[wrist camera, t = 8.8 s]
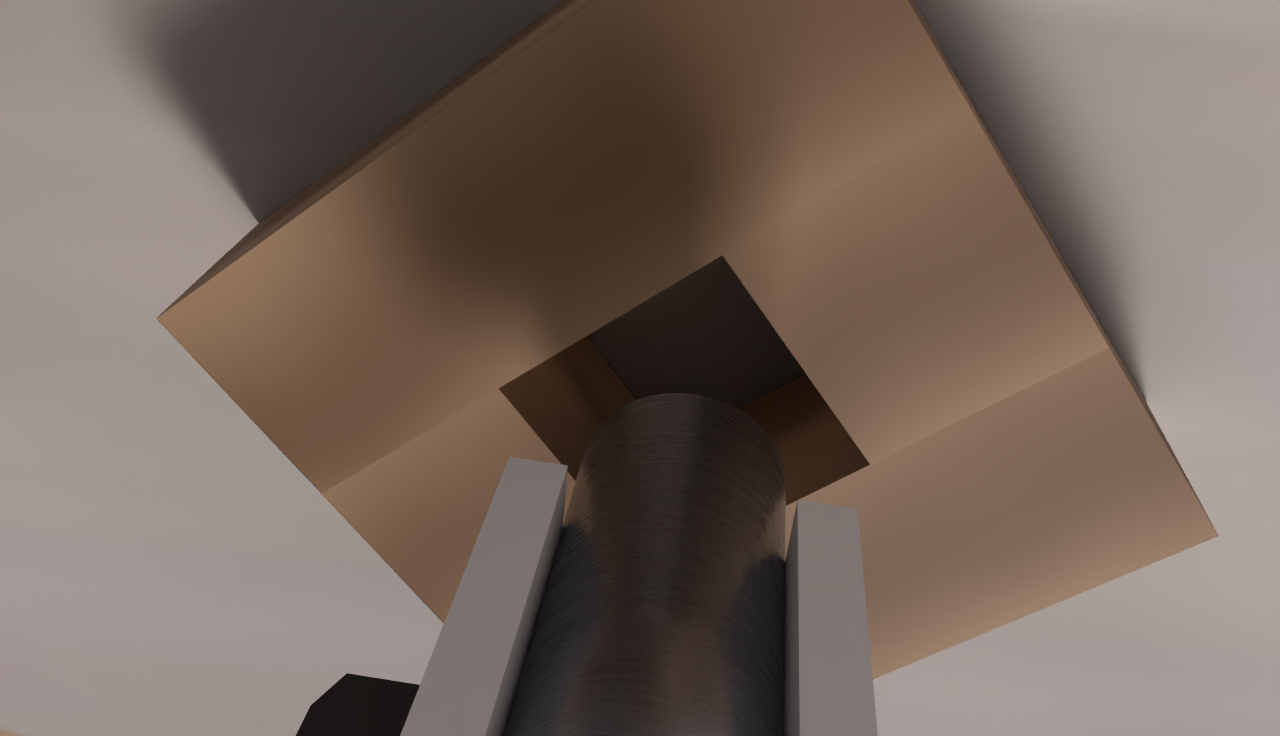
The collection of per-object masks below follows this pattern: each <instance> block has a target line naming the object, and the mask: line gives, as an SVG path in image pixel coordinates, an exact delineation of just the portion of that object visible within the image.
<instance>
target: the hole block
mask: <svg viewBox="0 0 1280 736" xmlns="http://www.w3.org/2000/svg"><path fill="white" fill-rule="evenodd" d="M722 255H723V257H724V258H725V260H726V261H727V262H728V264H729V265H730V267H731V268H732V270H733V271H734V272H735V274H736V275H737V277H738V278H739V279H740V281H741V282H742V284H743V285H744V287H745V288H746V289H747V291H748V292H749V294H750V295H751V296H752V298H753V299H754V301H755V302H756V304H757V305H758V306H759V308H760V309H761V311H762V312H763V313H764V315H765V316H766V318H767V319H768V321H769V322H770V323H771V325H772V326H773V328H774V329H775V330H776V332H777V333H778V335H779V336H780V338H781V339H782V340H783V342H784V343H785V345H786V346H787V347H788V349H789V350H790V352H791V353H792V355H793V356H794V357H795V359H796V360H797V362H798V363H799V364H800V366H801V367H802V369H803V370H804V372H805V374H804V375H802V376H800V377H798V378H796V379H794V380H792V381H790V382H789V383H787V384H785V385H783V386H781V387H779V388H777V389H775V390H774V391H772V392H770V393H768V394H766V395H764V396H762V397H761V398H759V399H757V400H755V401H753V402H751V403H749V404H747V405H746V406H744V407H742V408H740V409H739V410H741V411H742V412H744V413H745V414H747V415H748V416H750V417H751V418H752V419H753V420H755V421H756V422H757V423H758V424H759V425H760V426H761V427H762V428H763V429H764V430H765V432H766V433H767V434H768V435H769V436H770V438H771V439H772V441H773V443H774V444H775V446H776V447H777V450H778V452H779V454H780V456H781V459H782V462H783V466H784V470H785V479H786V523H785V559H786V554H787V549H788V544H789V539H790V534H791V529H792V525H793V520H794V515H795V510H796V505H797V500H804V501H811V502H818V503H824V504H831V505H838V506H844V507H851V508H858V518H859V529H860V541H861V552H862V563H863V575H864V586H865V598H866V609H867V620H868V632H869V643H870V655H871V666H872V678H873V679H875V678H877V677H879V676H882V675H884V674H887V673H889V672H892V671H894V670H896V669H899V668H901V667H904V666H906V665H908V664H911V663H913V662H916V661H918V660H920V659H923V658H925V657H928V656H930V655H933V654H935V653H937V652H940V651H942V650H945V649H947V648H949V647H952V646H954V645H957V644H959V643H962V642H964V641H966V640H969V639H971V638H974V637H976V636H978V635H981V634H983V633H986V632H988V631H990V630H993V629H995V628H998V627H1000V626H1003V625H1005V624H1007V623H1010V622H1012V621H1015V620H1017V619H1019V618H1022V617H1024V616H1027V615H1029V614H1032V613H1034V612H1036V611H1039V610H1041V609H1044V608H1046V607H1048V606H1051V605H1053V604H1056V603H1058V602H1060V601H1063V600H1065V599H1068V598H1070V597H1073V596H1075V595H1077V594H1080V593H1082V592H1085V591H1087V590H1089V589H1092V588H1094V587H1097V586H1099V585H1101V584H1104V583H1106V582H1109V581H1111V580H1114V579H1116V578H1118V577H1121V576H1123V575H1126V574H1128V573H1130V572H1133V571H1135V570H1138V569H1140V568H1143V567H1145V566H1147V565H1150V564H1152V563H1155V562H1157V561H1159V560H1162V559H1164V558H1167V557H1169V556H1171V555H1174V554H1176V553H1179V552H1181V551H1184V550H1186V549H1188V548H1191V547H1193V546H1196V545H1198V544H1200V543H1203V542H1205V541H1208V540H1210V539H1212V538H1215V537H1217V536H1218V534H1217V532H1216V530H1215V528H1214V526H1213V525H1212V523H1211V521H1210V519H1209V517H1208V515H1207V514H1206V512H1205V510H1204V508H1203V506H1202V504H1201V502H1200V501H1199V499H1198V497H1197V495H1196V493H1195V491H1194V490H1193V488H1192V486H1191V484H1190V482H1189V480H1188V478H1187V477H1186V475H1185V473H1184V471H1183V469H1182V467H1181V466H1180V464H1179V462H1178V460H1177V458H1176V456H1175V454H1174V453H1173V451H1172V449H1171V447H1170V445H1169V443H1168V442H1167V440H1166V438H1165V436H1164V434H1163V432H1162V431H1161V429H1160V427H1159V425H1158V423H1157V421H1156V419H1155V418H1154V416H1153V414H1152V412H1151V410H1150V408H1149V407H1148V405H1147V403H1146V401H1145V400H1144V398H1143V396H1142V394H1141V393H1140V391H1139V389H1138V387H1137V386H1136V384H1135V382H1134V381H1133V379H1132V377H1131V375H1130V374H1129V372H1128V370H1127V368H1126V367H1125V365H1124V363H1123V361H1122V360H1121V358H1120V356H1119V355H1118V353H1117V351H1116V349H1115V348H1114V346H1113V344H1112V342H1111V341H1110V339H1109V337H1108V336H1107V334H1106V332H1105V330H1104V329H1103V327H1102V325H1101V323H1100V322H1099V320H1098V318H1097V317H1096V315H1095V313H1094V311H1093V310H1092V308H1091V306H1090V304H1089V303H1088V301H1087V299H1086V298H1085V296H1084V294H1083V292H1082V291H1081V289H1080V287H1079V285H1078V284H1077V282H1076V280H1075V279H1074V277H1073V275H1072V273H1071V272H1070V270H1069V268H1068V266H1067V265H1066V263H1065V261H1064V260H1063V258H1062V256H1061V254H1060V253H1059V251H1058V249H1057V247H1056V246H1055V244H1054V242H1053V240H1052V239H1051V237H1050V235H1049V234H1048V232H1047V230H1046V228H1045V227H1044V225H1043V223H1042V221H1041V220H1040V218H1039V216H1038V215H1037V213H1036V211H1035V209H1034V208H1033V206H1032V204H1031V202H1030V201H1029V199H1028V197H1027V196H1026V194H1025V192H1024V190H1023V189H1022V187H1021V185H1020V183H1019V182H1018V180H1017V178H1016V177H1015V175H1014V173H1013V171H1012V170H1011V168H1010V166H1009V164H1008V163H1007V161H1006V159H1005V158H1004V156H1003V154H1002V152H1001V151H1000V149H999V147H998V145H997V144H996V142H995V140H994V138H993V137H992V135H991V133H990V132H989V130H988V128H987V126H986V125H985V123H984V121H983V119H982V118H981V116H980V114H979V113H978V111H977V109H976V107H975V106H974V104H973V102H972V100H971V99H970V97H969V95H968V94H967V92H966V90H965V88H964V87H963V85H962V83H961V81H960V80H959V78H958V76H957V75H956V73H955V71H954V69H953V68H952V66H951V64H950V62H949V61H948V59H947V57H946V56H945V54H944V52H943V50H942V49H941V47H940V45H939V43H938V42H937V40H936V38H935V36H934V35H933V33H932V31H931V30H930V28H929V26H928V24H927V23H926V21H925V19H924V17H923V16H922V14H921V12H920V11H919V9H918V7H917V5H916V4H915V2H914V0H563V1H562V2H560V3H559V4H558V5H556V6H555V7H554V8H552V9H551V10H550V11H548V12H547V13H545V14H544V15H543V16H541V17H540V18H539V19H537V20H536V21H535V22H533V23H532V24H530V25H529V26H528V27H526V28H525V29H524V30H522V31H521V32H519V33H518V34H517V35H515V36H514V37H513V38H511V39H510V40H509V41H507V42H506V43H504V44H503V45H502V46H500V47H499V48H498V49H496V50H495V51H494V52H492V53H491V54H489V55H488V56H487V57H485V58H484V59H483V60H481V61H480V62H479V63H477V64H476V65H474V66H473V67H472V68H470V69H469V70H468V71H466V72H465V73H464V74H462V75H461V76H459V77H458V78H457V79H455V80H454V81H453V82H451V83H450V84H449V85H447V86H446V87H444V88H443V89H442V90H440V91H439V92H438V93H436V94H435V95H434V96H432V97H431V98H429V99H428V100H427V101H425V102H424V103H423V104H421V105H420V106H419V107H417V108H416V109H414V110H413V111H412V112H410V113H409V114H408V115H406V116H405V117H404V118H402V119H401V120H399V121H398V122H397V123H395V124H394V125H393V126H391V127H390V128H389V129H387V130H386V131H384V132H383V133H382V134H380V135H379V136H378V137H376V138H375V139H374V140H372V141H371V142H369V143H368V144H367V145H365V146H364V147H363V148H361V149H360V150H359V151H357V152H356V153H354V154H353V155H352V156H350V157H349V158H348V159H346V160H345V161H344V162H342V163H341V164H339V165H338V166H337V167H335V168H334V169H333V170H331V171H330V172H329V173H327V174H326V175H324V176H323V177H322V178H320V179H319V180H318V181H316V182H315V183H314V184H312V185H311V186H309V187H308V188H307V189H305V190H304V191H303V192H301V193H300V194H299V195H297V196H296V197H294V198H293V199H292V200H290V201H289V202H288V203H286V204H285V205H284V206H282V207H281V208H279V209H278V210H277V211H275V212H274V213H273V214H271V215H270V216H269V217H267V218H266V219H264V220H263V221H262V222H260V223H259V224H258V225H257V226H255V227H254V228H253V229H252V230H251V231H250V232H249V233H248V234H247V235H246V236H245V237H244V238H243V239H241V240H240V241H239V242H238V243H237V244H236V245H235V246H234V247H233V248H232V249H231V250H230V251H228V252H227V253H226V254H225V255H224V256H223V257H222V258H221V259H220V260H219V261H218V262H217V263H216V264H214V265H213V266H212V267H211V268H210V269H209V270H208V271H207V272H206V273H205V274H204V275H203V276H201V277H200V278H199V279H198V280H197V281H196V282H195V283H194V284H193V285H192V286H191V287H190V288H189V289H187V290H186V291H185V292H184V293H183V294H182V295H181V296H180V297H179V298H178V299H177V300H176V301H174V302H173V303H172V304H171V305H170V306H169V307H168V308H167V309H166V310H165V311H164V312H163V313H162V314H160V315H159V316H158V317H157V318H156V319H157V320H158V321H159V322H160V323H161V324H162V325H163V326H164V327H165V328H166V329H167V330H168V332H169V333H170V334H171V335H172V336H173V337H174V338H175V339H176V340H177V341H178V342H179V343H180V344H181V345H182V346H183V347H184V349H185V350H186V351H187V352H188V353H189V354H190V355H191V356H192V357H193V358H194V359H195V360H196V361H197V362H198V363H199V364H200V365H201V367H202V368H203V369H204V370H205V371H206V372H207V373H208V374H209V375H210V376H211V377H212V378H213V379H214V380H215V381H216V382H217V384H218V385H219V386H220V387H221V388H222V389H223V390H224V391H225V392H226V393H227V394H228V395H229V396H230V397H231V398H232V399H233V400H234V402H235V403H236V404H237V405H238V406H239V407H240V408H241V409H242V410H243V411H244V412H245V413H246V414H247V415H248V416H249V417H250V419H251V420H252V421H253V422H254V423H255V424H256V425H257V426H258V427H259V428H260V429H261V430H262V431H263V432H264V433H265V434H266V436H267V437H268V438H269V439H270V440H271V441H272V442H273V443H274V444H275V445H276V446H277V447H278V448H279V449H280V450H281V451H282V452H283V454H284V455H285V456H286V457H287V458H288V459H289V460H290V461H291V462H292V463H293V464H294V465H295V466H296V467H297V468H298V469H299V471H300V472H301V473H302V474H303V475H304V476H305V477H306V478H307V479H308V480H309V481H310V482H311V483H312V484H313V485H314V486H315V488H316V489H317V490H318V491H319V492H320V493H321V494H322V495H323V496H324V497H325V498H326V499H327V500H328V501H329V502H330V503H331V504H332V506H333V507H334V508H335V509H336V510H337V511H338V512H339V513H340V514H341V515H342V516H343V517H344V518H345V519H346V520H347V521H348V523H349V524H350V525H351V526H352V527H353V528H354V529H355V530H356V531H357V532H358V533H359V534H360V535H361V536H362V537H363V538H364V540H365V541H366V542H367V543H368V544H369V545H370V546H371V547H372V548H373V549H374V550H375V551H376V552H377V553H378V554H379V555H380V556H381V558H382V559H383V560H384V561H385V562H386V563H387V564H388V565H389V566H390V567H391V568H392V569H393V570H394V571H395V572H396V573H397V575H398V576H399V577H400V578H401V579H402V580H403V581H404V582H405V583H406V584H407V585H408V586H409V587H410V588H411V589H412V590H413V591H414V593H415V594H416V595H417V596H418V597H419V598H420V599H421V600H422V601H423V602H424V603H425V604H426V605H427V606H428V607H429V608H430V610H431V611H432V612H433V613H434V614H435V615H436V616H437V617H438V618H439V619H440V620H441V621H442V622H443V623H444V622H445V620H446V617H447V615H448V612H449V610H450V607H451V605H452V602H453V599H454V597H455V594H456V592H457V589H458V587H459V584H460V582H461V579H462V576H463V574H464V571H465V569H466V566H467V564H468V561H469V559H470V556H471V553H472V551H473V548H474V546H475V543H476V541H477V538H478V536H479V533H480V530H481V528H482V525H483V523H484V520H485V518H486V515H487V513H488V510H489V507H490V505H491V502H492V500H493V497H494V495H495V492H496V490H497V487H498V484H499V482H500V479H501V477H502V474H503V472H504V469H505V467H506V464H507V461H508V459H509V457H514V458H521V459H527V460H534V461H541V462H548V463H554V464H561V465H568V470H567V482H566V494H565V506H564V518H563V523H564V520H565V517H566V513H567V510H568V506H569V503H570V499H571V496H572V492H573V489H574V485H575V482H576V478H577V475H578V472H579V468H580V465H581V461H582V458H583V454H584V451H585V448H586V446H587V444H588V441H589V439H590V438H591V436H592V435H593V433H594V431H595V430H596V429H597V428H598V426H599V425H600V424H601V423H602V422H603V421H604V420H605V419H606V418H607V417H608V416H610V415H611V414H612V413H613V412H615V411H616V410H618V409H619V408H621V407H622V406H624V405H626V404H629V403H631V402H633V401H635V400H636V399H635V398H634V396H633V395H632V394H631V392H630V391H629V390H628V389H627V387H626V386H625V385H624V383H623V382H622V381H621V380H620V378H619V377H618V376H617V375H616V373H615V372H614V371H613V369H612V368H611V367H610V366H609V364H608V363H607V362H606V360H605V359H604V358H603V357H602V355H601V354H600V353H599V351H598V350H597V349H596V348H595V346H594V345H593V344H592V343H591V341H590V340H589V339H588V337H587V335H589V334H591V333H593V332H594V331H596V330H598V329H599V328H601V327H603V326H604V325H606V324H608V323H609V322H611V321H613V320H614V319H616V318H618V317H619V316H621V315H623V314H624V313H626V312H628V311H629V310H631V309H633V308H635V307H636V306H638V305H640V304H641V303H643V302H645V301H646V300H648V299H650V298H651V297H653V296H655V295H656V294H658V293H660V292H661V291H663V290H665V289H666V288H668V287H670V286H672V285H673V284H675V283H677V282H678V281H680V280H682V279H683V278H685V277H687V276H688V275H690V274H692V273H693V272H695V271H697V270H698V269H700V268H702V267H703V266H705V265H707V264H708V263H710V262H712V261H714V260H715V259H717V258H719V257H720V256H722Z"/></svg>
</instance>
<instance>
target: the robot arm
mask: <svg viewBox="0 0 1280 736" xmlns="http://www.w3.org/2000/svg"><path fill="white" fill-rule="evenodd" d="M567 470H568V465H561V464H554V463H548V462H541V461H534V460H527V459H521V458H514V457H509V459H508V461H507V464H506V467H505V469H504V472H503V474H502V477H501V479H500V482H499V484H498V487H497V490H496V492H495V495H494V497H493V500H492V502H491V505H490V507H489V510H488V513H487V515H486V518H485V520H484V523H483V525H482V528H481V530H480V533H479V536H478V538H477V541H476V543H475V546H474V548H473V551H472V553H471V556H470V559H469V561H468V564H467V566H466V569H465V571H464V574H463V576H462V579H461V582H460V584H459V587H458V589H457V592H456V594H455V597H454V599H453V602H452V605H451V607H450V610H449V612H448V615H447V617H446V620H445V622H444V625H443V628H442V630H441V633H440V635H439V638H438V640H437V643H436V645H435V648H434V651H433V653H432V656H431V658H430V661H429V663H428V666H427V668H426V671H425V674H424V676H423V679H422V681H421V684H420V685H416V684H410V683H404V682H398V681H391V680H385V679H379V678H372V677H366V676H360V675H354V674H346V675H345V676H344V677H342V678H341V679H340V680H339V681H338V682H337V683H336V684H335V685H333V686H332V687H331V688H330V689H329V690H328V691H327V692H326V693H324V694H323V695H322V696H321V697H320V698H319V699H318V700H317V701H315V702H314V703H313V704H312V705H311V706H310V708H309V710H308V712H307V714H306V716H305V718H304V720H303V722H302V724H301V726H300V728H299V730H298V732H297V734H296V736H503V734H504V730H505V727H506V723H507V720H508V716H509V713H510V709H511V706H512V702H513V699H514V695H515V692H516V688H517V685H518V682H519V678H520V675H521V671H522V668H523V664H524V661H525V657H526V654H527V650H528V647H529V643H530V640H531V636H532V633H533V630H534V626H535V623H536V619H537V616H538V612H539V609H540V605H541V602H542V598H543V595H544V591H545V588H546V584H547V581H548V577H549V574H550V571H551V567H552V564H553V560H554V557H555V553H556V550H557V546H558V543H559V539H560V536H561V532H562V529H563V518H564V506H565V494H566V482H567ZM784 736H878V735H877V723H876V712H875V700H874V689H873V678H872V666H871V655H870V643H869V632H868V620H867V609H866V598H865V586H864V575H863V563H862V552H861V541H860V529H859V518H858V508H851V507H844V506H838V505H831V504H824V503H818V502H811V501H804V500H797V505H796V510H795V515H794V520H793V525H792V529H791V534H790V539H789V544H788V549H787V554H786V559H785V599H784Z"/></svg>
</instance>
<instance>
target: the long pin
mask: <svg viewBox="0 0 1280 736" xmlns="http://www.w3.org/2000/svg"><path fill="white" fill-rule="evenodd" d="M785 523H786V479H785V470H784V466H783V462H782V459H781V456H780V454H779V452H778V450H777V447H776V446H775V444H774V443H773V441H772V439H771V438H770V436H769V435H768V434H767V433H766V432H765V430H764V429H763V428H762V427H761V426H760V425H759V424H758V423H757V422H756V421H755V420H753V419H752V418H751V417H750V416H748V415H747V414H745V413H744V412H742V411H741V410H739V409H737V408H736V407H734V406H732V405H730V404H728V403H725V402H723V401H720V400H718V399H715V398H711V397H707V396H704V395H698V394H691V393H664V394H657V395H652V396H647V397H644V398H641V399H638V400H635V401H633V402H631V403H629V404H626V405H624V406H622V407H621V408H619V409H618V410H616V411H615V412H613V413H612V414H611V415H610V416H608V417H607V418H606V419H605V420H604V421H603V422H602V423H601V424H600V425H599V426H598V428H597V429H596V430H595V431H594V433H593V435H592V436H591V438H590V439H589V441H588V444H587V446H586V448H585V451H584V454H583V458H582V461H581V465H580V468H579V472H578V475H577V478H576V482H575V485H574V489H573V492H572V496H571V499H570V503H569V506H568V510H567V513H566V517H565V520H564V523H563V529H562V532H561V536H560V539H559V543H558V546H557V550H556V553H555V557H554V560H553V564H552V567H551V571H550V574H549V577H548V581H547V584H546V588H545V591H544V595H543V598H542V602H541V605H540V609H539V612H538V616H537V619H536V623H535V626H534V630H533V633H532V636H531V640H530V643H529V647H528V650H527V654H526V657H525V661H524V664H523V668H522V671H521V675H520V678H519V682H518V685H517V688H516V692H515V695H514V699H513V702H512V706H511V709H510V713H509V716H508V720H507V723H506V727H505V730H504V734H503V736H784V599H785Z"/></svg>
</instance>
